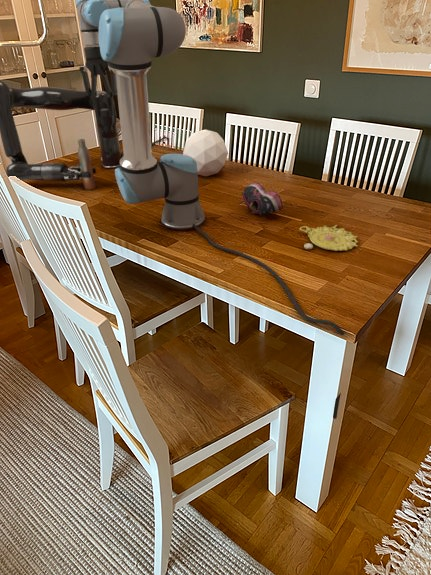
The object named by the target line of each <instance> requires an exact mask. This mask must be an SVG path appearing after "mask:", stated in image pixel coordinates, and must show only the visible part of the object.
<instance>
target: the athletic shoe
mask: <svg viewBox="0 0 431 575" xmlns="http://www.w3.org/2000/svg"><path fill="white" fill-rule="evenodd" d="M241 197H242V199H243V201H238V203H239V204H241V205H245V206H246V207H247V208H248V210H249V211H250V210H251V213H252V214H255V215H260V217H266V216H267V215H270V214H274V213H275V212H279V211H282V210H283V209H284V205H283V201H282V198H281V196H280V195H279V194H278V192H277V191H274V190H269V191H267V190H266V189H265V187H264V186H263V185H262V184H261V183H258V182H251V183H249V184H247V186H246V187H245V188H244V190H243V191H242V192H241Z"/></svg>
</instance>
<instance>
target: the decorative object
mask: <svg viewBox="0 0 431 575" xmlns="http://www.w3.org/2000/svg"><path fill="white" fill-rule="evenodd" d="M303 228H304V229H305V230H304V229H303ZM299 231H300V232H303V233H305V234H307V237H308V238H309V240H310V241H311V243H304V244H303V248H304V249H305V250H313V249H314V245H315V246H316V247H318V248H321V249H324V250H328V251H335V252H341V251H348V250H352V249H354V247H356V248H358V247H359V245H358V244H357V243H359V240H357V238H359V237H358V235H353V234H352V231H347V230H346V229H345V228H344V227H342V228H338V224H335V225H333V226H331V227H328V226H327V225H326V224H325V225H323V226H322V227H321V226H317V227H316V228H314V227H309V226H308V225H302V226H300V227H299ZM313 244H314V245H313Z"/></svg>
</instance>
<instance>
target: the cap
mask: <svg viewBox="0 0 431 575" xmlns="http://www.w3.org/2000/svg"><path fill="white" fill-rule="evenodd" d="M99 114H100V116H103V117H104V116H109V114H108V109H100V110H99Z"/></svg>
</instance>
